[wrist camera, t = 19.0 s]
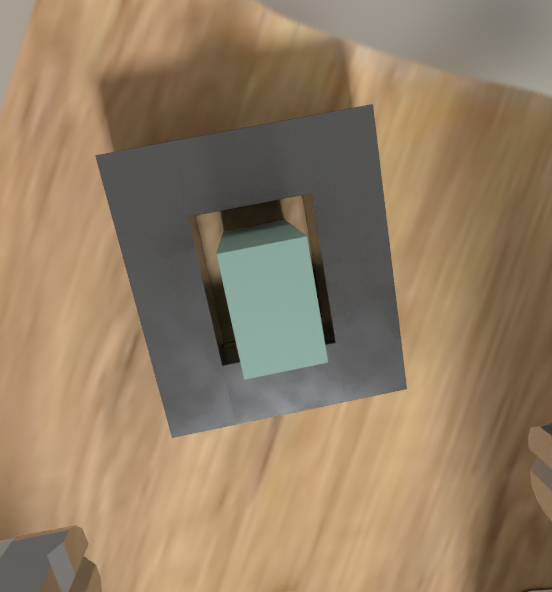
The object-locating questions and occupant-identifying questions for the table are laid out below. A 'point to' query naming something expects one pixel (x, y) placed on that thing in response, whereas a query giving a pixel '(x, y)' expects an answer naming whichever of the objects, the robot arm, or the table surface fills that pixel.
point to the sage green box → (271, 298)
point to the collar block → (195, 279)
